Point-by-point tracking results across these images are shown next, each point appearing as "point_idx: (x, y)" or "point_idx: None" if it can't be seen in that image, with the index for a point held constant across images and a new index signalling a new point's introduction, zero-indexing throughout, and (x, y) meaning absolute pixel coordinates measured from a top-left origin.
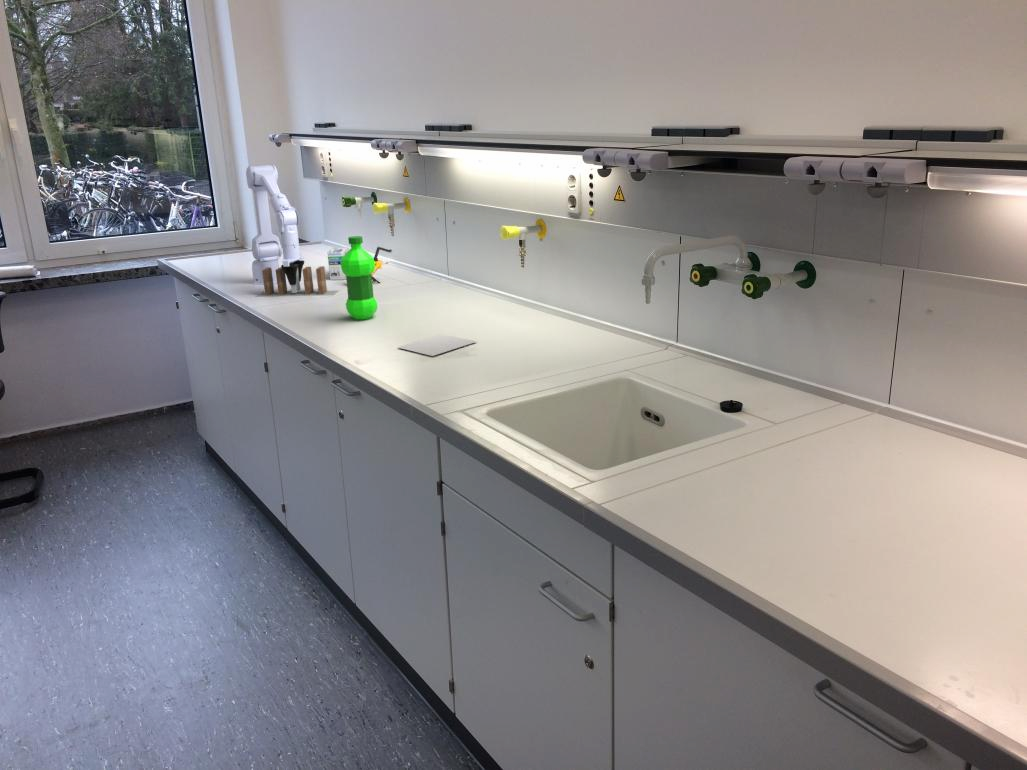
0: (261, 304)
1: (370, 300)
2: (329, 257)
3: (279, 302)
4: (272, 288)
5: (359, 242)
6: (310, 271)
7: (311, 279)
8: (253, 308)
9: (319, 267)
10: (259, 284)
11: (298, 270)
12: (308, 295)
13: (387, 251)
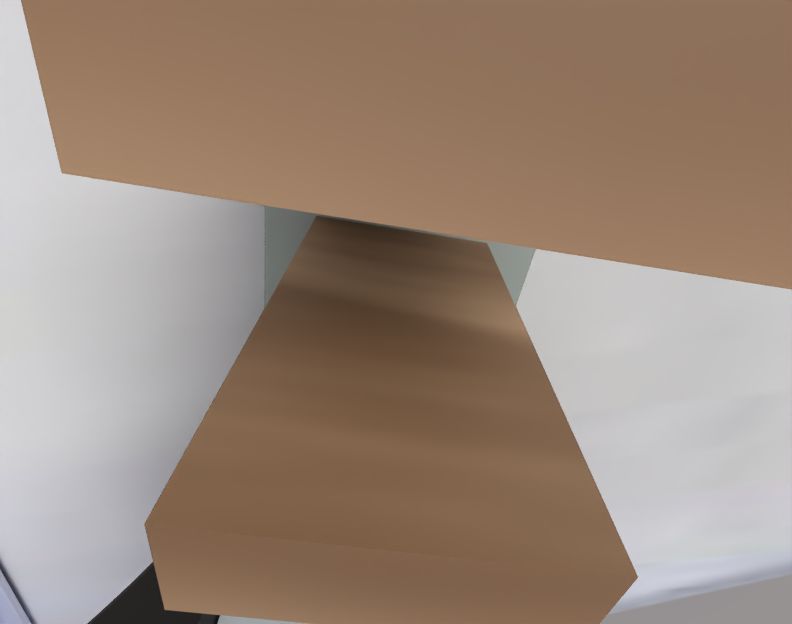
0: (661, 541)
1: None
2: None
3: (664, 456)
4: None
5: None
6: (308, 423)
7: (333, 306)
8: (766, 562)
9: (420, 155)
10: (22, 614)
11: (218, 616)
12: (527, 252)
13: None
